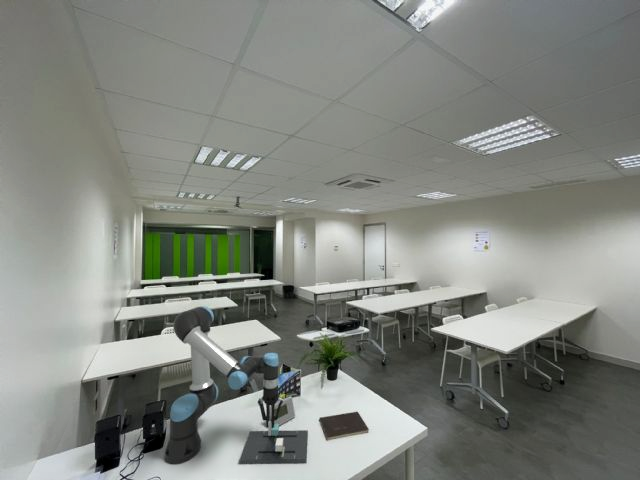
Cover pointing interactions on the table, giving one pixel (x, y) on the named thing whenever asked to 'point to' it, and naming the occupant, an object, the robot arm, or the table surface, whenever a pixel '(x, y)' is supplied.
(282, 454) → the plate
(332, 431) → the hardcover book
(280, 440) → the fader near
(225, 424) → the table surface
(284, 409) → the digital clock
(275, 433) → the fader far
